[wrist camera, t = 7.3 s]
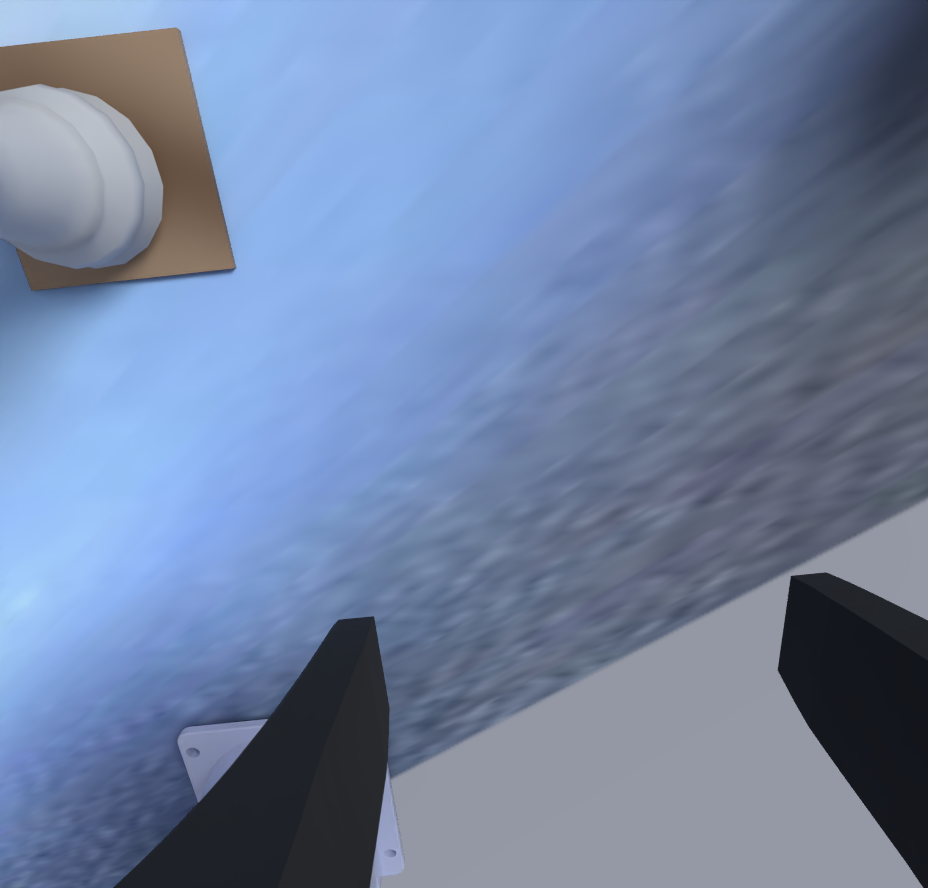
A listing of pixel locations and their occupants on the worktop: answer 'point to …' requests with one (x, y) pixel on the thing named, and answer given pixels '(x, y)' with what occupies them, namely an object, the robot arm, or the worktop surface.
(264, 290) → the worktop surface
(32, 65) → the walnut tile
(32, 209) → the rook chess piece
